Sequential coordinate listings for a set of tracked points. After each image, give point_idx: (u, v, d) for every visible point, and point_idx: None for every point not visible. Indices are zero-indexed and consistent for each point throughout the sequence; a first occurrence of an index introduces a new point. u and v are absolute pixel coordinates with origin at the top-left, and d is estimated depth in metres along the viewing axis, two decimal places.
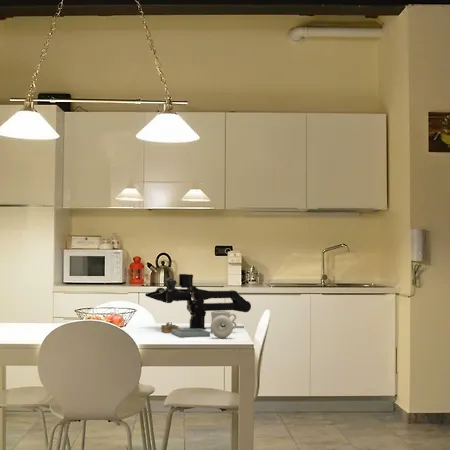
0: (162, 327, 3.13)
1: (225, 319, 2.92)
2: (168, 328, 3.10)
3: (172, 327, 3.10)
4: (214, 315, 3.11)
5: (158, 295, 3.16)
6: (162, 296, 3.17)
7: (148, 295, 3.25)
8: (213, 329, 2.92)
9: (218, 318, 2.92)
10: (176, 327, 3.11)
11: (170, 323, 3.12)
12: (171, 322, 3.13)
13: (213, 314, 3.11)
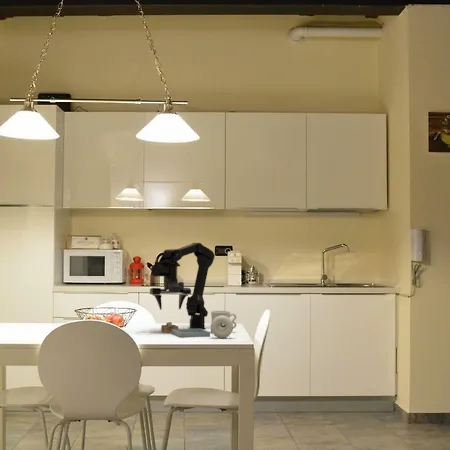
0: (162, 327, 3.13)
1: (225, 319, 2.92)
2: (168, 328, 3.10)
3: (172, 327, 3.10)
4: (214, 315, 3.11)
5: None
6: None
7: None
8: (213, 329, 2.92)
9: (218, 318, 2.92)
10: (176, 327, 3.11)
11: (170, 323, 3.12)
12: (171, 322, 3.13)
13: (213, 314, 3.11)
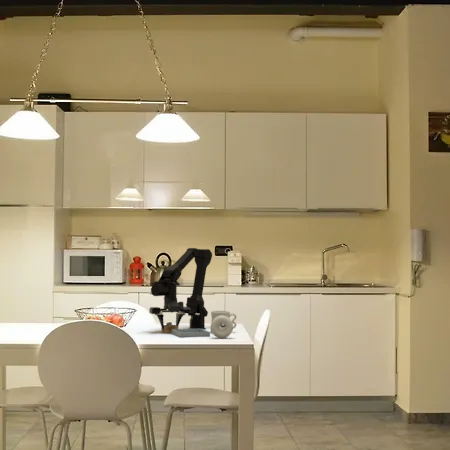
0: None
1: (225, 319, 2.92)
2: (168, 328, 3.09)
3: (172, 327, 3.10)
4: (214, 315, 3.11)
5: None
6: None
7: None
8: (213, 329, 2.92)
9: (218, 318, 2.92)
10: (176, 327, 3.11)
11: (170, 323, 3.12)
12: (171, 322, 3.13)
13: (213, 314, 3.11)
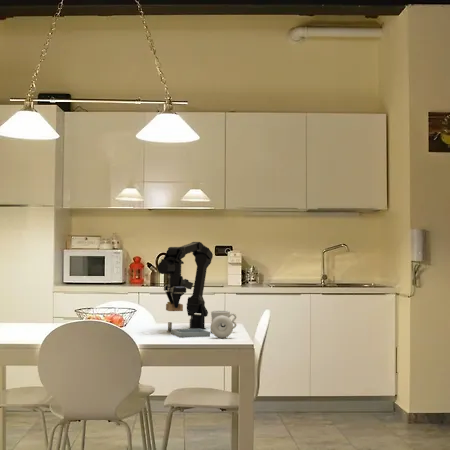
0: (173, 306, 3.08)
1: (225, 319, 2.92)
2: None
3: None
4: (214, 315, 3.11)
5: None
6: None
7: None
8: (213, 329, 2.92)
9: (218, 318, 2.92)
10: None
11: (170, 323, 3.12)
12: (171, 322, 3.13)
13: (213, 314, 3.11)
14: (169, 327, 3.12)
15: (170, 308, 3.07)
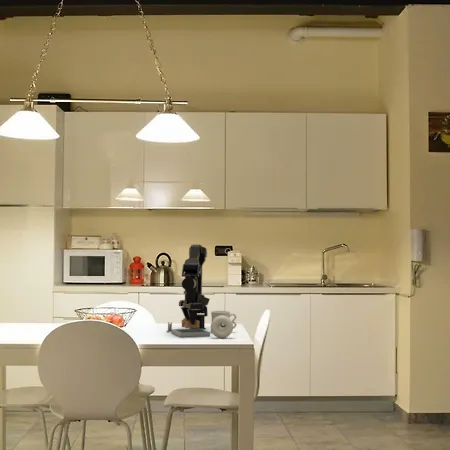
0: (189, 323, 3.00)
1: (225, 319, 2.92)
2: None
3: None
4: (214, 315, 3.11)
5: None
6: None
7: None
8: (213, 329, 2.92)
9: (218, 318, 2.92)
10: None
11: (170, 323, 3.12)
12: (171, 322, 3.13)
13: (213, 314, 3.11)
14: (169, 327, 3.12)
15: (186, 325, 2.99)
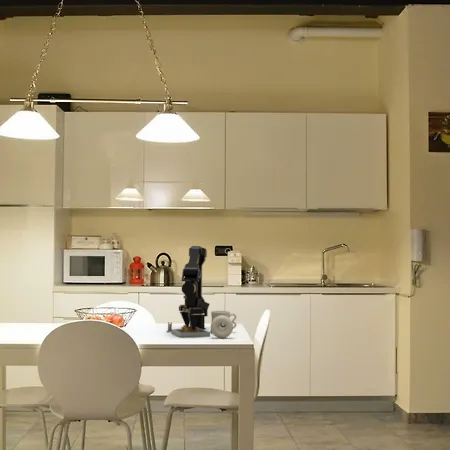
0: (189, 330, 3.00)
1: (225, 319, 2.92)
2: None
3: None
4: (214, 315, 3.11)
5: None
6: None
7: None
8: (213, 329, 2.92)
9: (218, 318, 2.92)
10: None
11: (170, 323, 3.12)
12: (171, 322, 3.13)
13: (213, 314, 3.11)
14: (169, 327, 3.12)
15: None
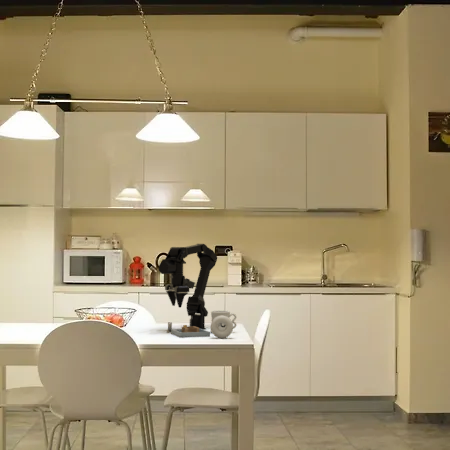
0: (189, 330, 3.00)
1: (225, 319, 2.92)
2: None
3: None
4: (214, 315, 3.11)
5: None
6: None
7: None
8: (213, 329, 2.92)
9: (218, 318, 2.92)
10: None
11: (170, 323, 3.12)
12: (171, 322, 3.13)
13: (213, 314, 3.11)
14: (169, 327, 3.12)
15: None
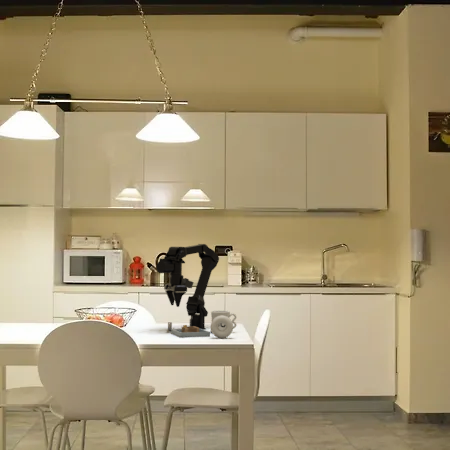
0: (189, 330, 3.00)
1: (225, 319, 2.92)
2: None
3: None
4: (214, 315, 3.11)
5: None
6: None
7: None
8: (213, 329, 2.92)
9: (218, 318, 2.92)
10: None
11: (170, 323, 3.12)
12: (171, 322, 3.13)
13: (213, 314, 3.11)
14: (169, 327, 3.12)
15: None
